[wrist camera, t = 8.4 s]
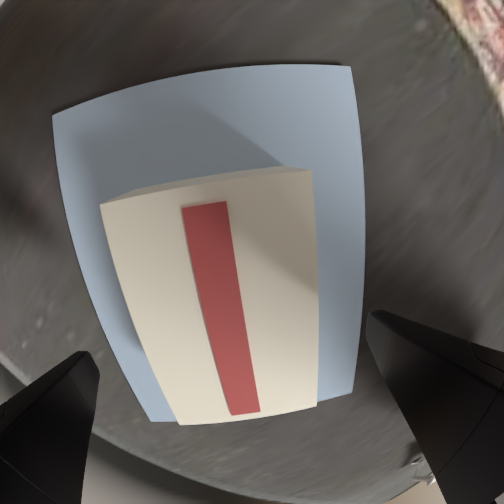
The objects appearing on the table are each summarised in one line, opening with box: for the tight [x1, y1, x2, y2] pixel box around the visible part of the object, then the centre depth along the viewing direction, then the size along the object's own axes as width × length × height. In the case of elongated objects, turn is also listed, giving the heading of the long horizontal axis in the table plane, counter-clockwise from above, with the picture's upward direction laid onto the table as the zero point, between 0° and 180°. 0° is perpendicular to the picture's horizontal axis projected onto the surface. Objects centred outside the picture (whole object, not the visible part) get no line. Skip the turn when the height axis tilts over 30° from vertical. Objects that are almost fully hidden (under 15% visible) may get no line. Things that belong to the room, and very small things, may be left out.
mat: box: [52, 64, 365, 422], centre depth 12 cm, size 18×13×1 cm
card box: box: [100, 166, 319, 425], centre depth 10 cm, size 6×10×4 cm, turn 7°
